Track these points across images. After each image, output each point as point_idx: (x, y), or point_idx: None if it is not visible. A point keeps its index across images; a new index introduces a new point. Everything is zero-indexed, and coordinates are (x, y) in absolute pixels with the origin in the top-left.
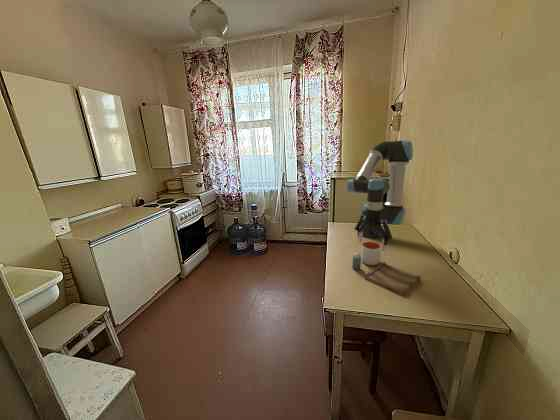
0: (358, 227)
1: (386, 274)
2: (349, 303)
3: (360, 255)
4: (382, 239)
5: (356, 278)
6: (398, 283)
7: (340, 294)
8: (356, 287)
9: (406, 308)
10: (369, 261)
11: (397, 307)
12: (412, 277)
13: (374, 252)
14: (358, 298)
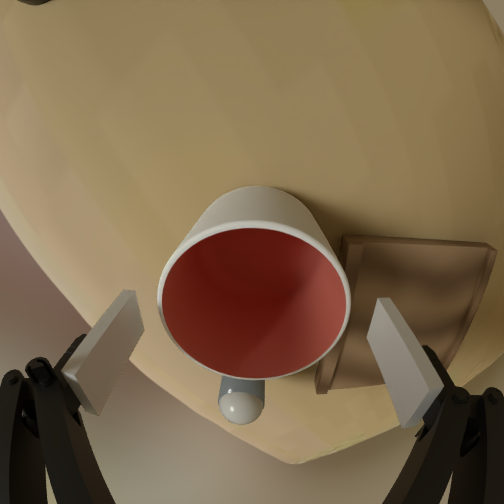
0: (17, 400)
1: None
2: (326, 448)
3: (256, 405)
4: (402, 426)
5: (289, 395)
6: (432, 347)
7: (294, 446)
8: (314, 419)
9: None
10: (280, 309)
11: None
12: (474, 274)
13: (312, 342)
14: (337, 434)
